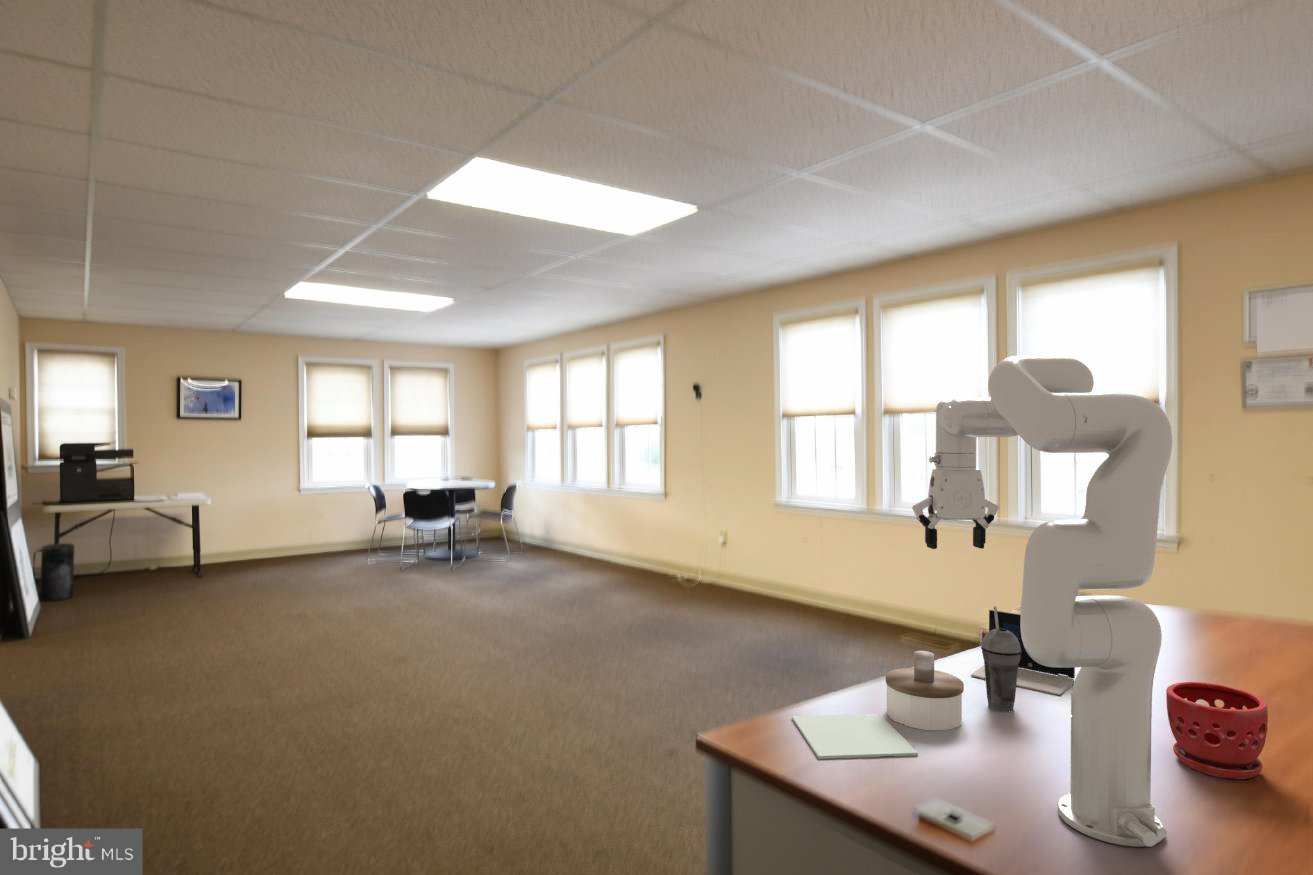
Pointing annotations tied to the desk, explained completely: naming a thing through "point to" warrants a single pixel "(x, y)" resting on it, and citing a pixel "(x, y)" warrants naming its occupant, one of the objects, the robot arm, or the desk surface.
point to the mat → (852, 736)
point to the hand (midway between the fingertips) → (955, 547)
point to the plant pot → (1217, 729)
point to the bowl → (924, 710)
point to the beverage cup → (1001, 667)
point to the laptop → (1030, 662)
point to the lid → (924, 679)
